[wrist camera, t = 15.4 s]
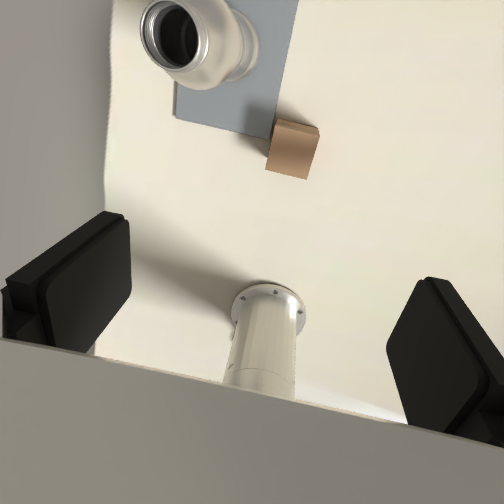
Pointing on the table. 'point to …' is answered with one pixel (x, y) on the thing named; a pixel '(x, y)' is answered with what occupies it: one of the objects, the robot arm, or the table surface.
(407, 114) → the table surface
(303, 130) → the walnut block
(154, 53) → the plastic bottle
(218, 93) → the slate mat
